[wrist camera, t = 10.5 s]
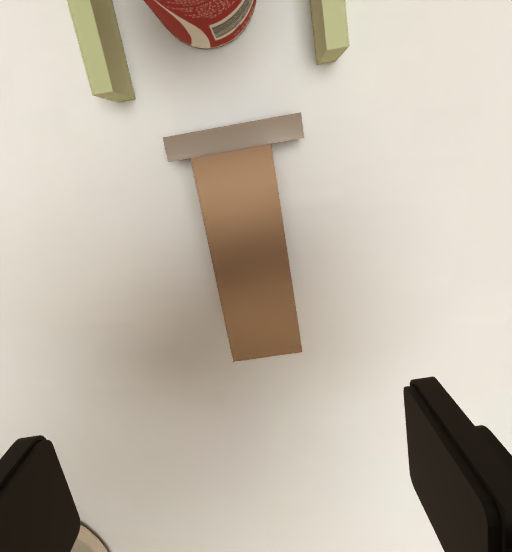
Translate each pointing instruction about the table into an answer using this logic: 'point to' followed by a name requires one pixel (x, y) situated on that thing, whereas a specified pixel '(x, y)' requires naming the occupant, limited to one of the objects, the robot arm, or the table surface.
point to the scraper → (246, 230)
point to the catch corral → (111, 59)
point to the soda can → (204, 19)
